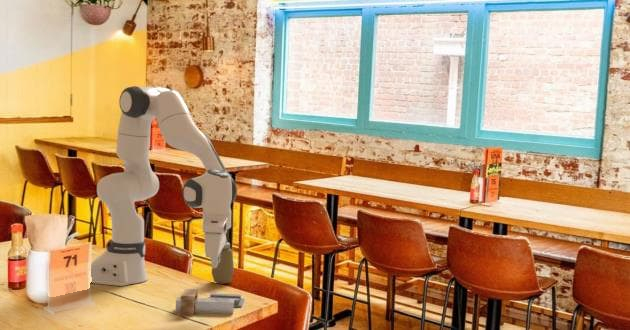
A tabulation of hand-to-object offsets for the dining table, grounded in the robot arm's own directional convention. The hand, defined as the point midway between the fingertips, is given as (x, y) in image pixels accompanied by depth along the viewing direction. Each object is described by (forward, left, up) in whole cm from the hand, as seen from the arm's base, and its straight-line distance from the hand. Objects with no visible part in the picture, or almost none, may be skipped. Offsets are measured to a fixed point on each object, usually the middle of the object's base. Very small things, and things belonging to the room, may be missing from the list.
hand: (215, 265), depth 233 cm
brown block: (-8, 0, -15) cm, 17 cm away
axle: (-3, +1, -15) cm, 16 cm away
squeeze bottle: (-2, +35, -15) cm, 38 cm away
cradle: (+2, +10, -15) cm, 18 cm away
